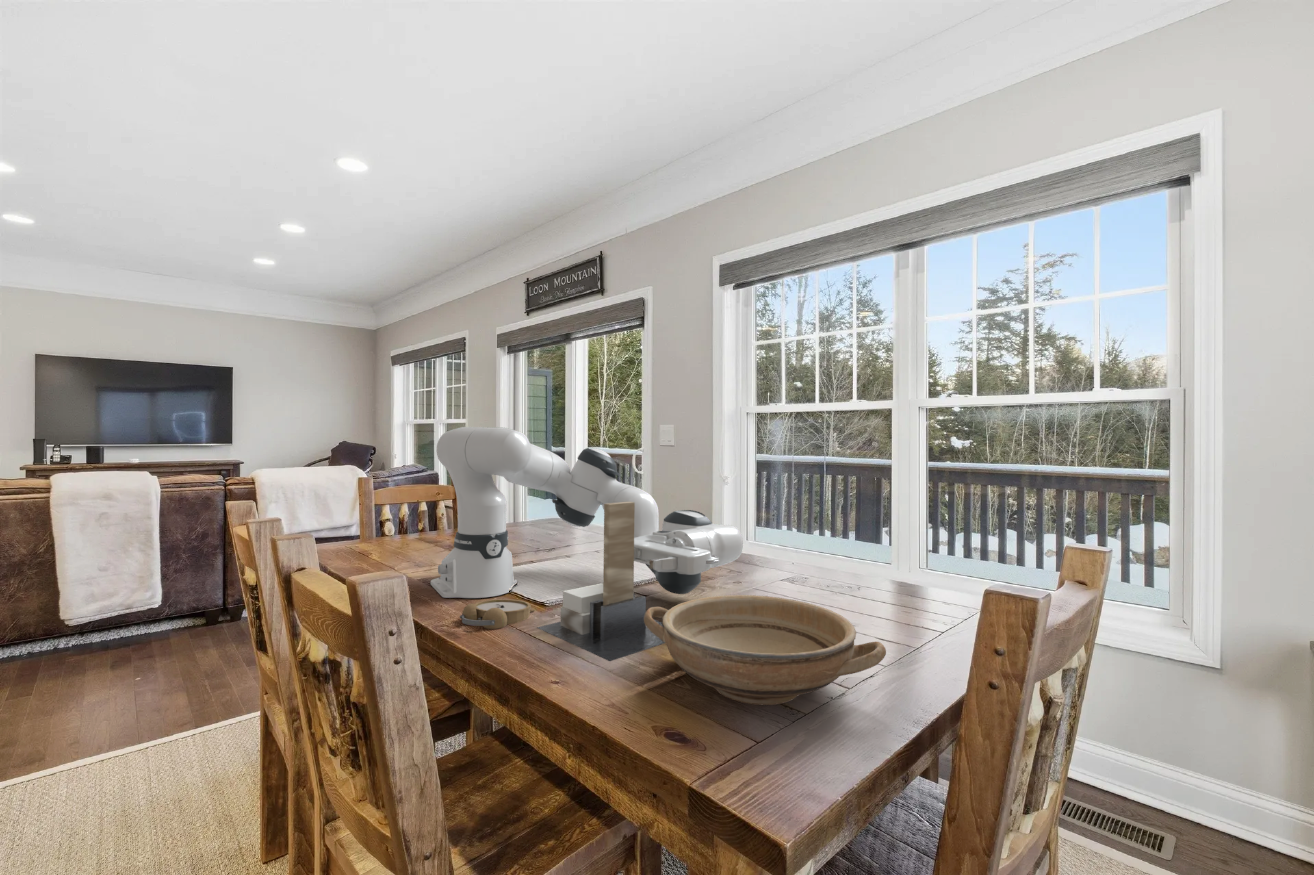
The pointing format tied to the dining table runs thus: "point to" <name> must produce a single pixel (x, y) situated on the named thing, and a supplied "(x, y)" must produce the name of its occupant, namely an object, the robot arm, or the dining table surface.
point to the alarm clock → (496, 613)
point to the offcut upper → (582, 597)
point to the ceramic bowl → (761, 645)
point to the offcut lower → (575, 621)
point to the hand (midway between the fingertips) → (635, 560)
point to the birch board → (618, 552)
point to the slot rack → (612, 629)
